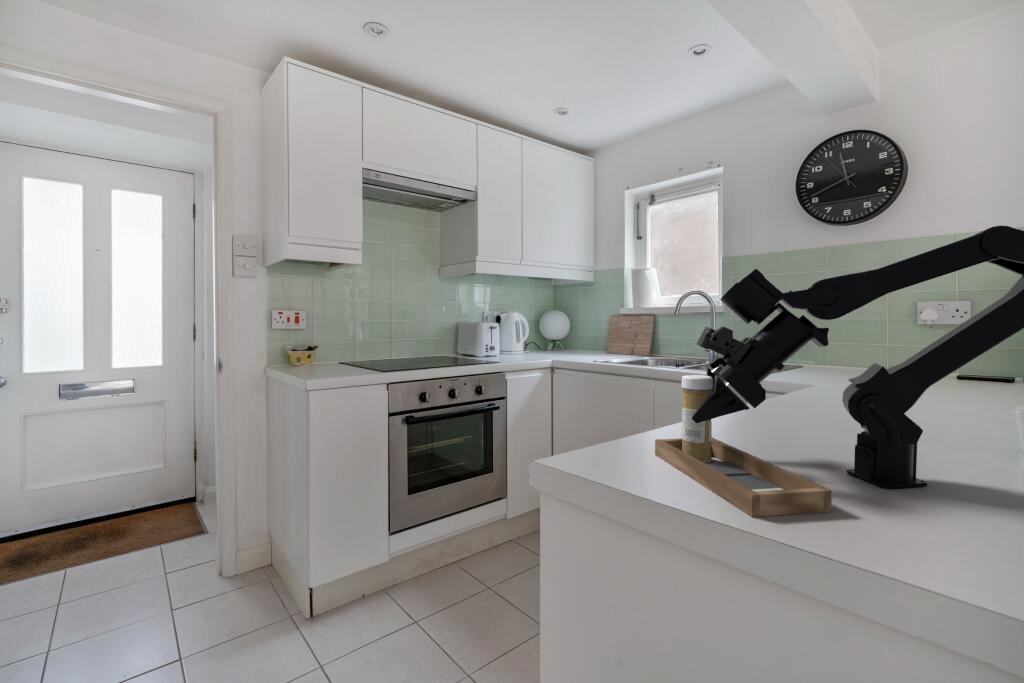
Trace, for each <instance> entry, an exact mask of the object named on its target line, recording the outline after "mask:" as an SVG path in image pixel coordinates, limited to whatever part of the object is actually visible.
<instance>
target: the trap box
mask: <svg viewBox="0 0 1024 683" xmlns="http://www.w3.org/2000/svg"><path fill="white" fill-rule="evenodd" d="M654 455H655V456H656V457H658V458H659V459H661V460H663V461H664V462H666V463H668V464H669V465H670V466H672V467H674V468H676V469H677V470H678V471H680V472H682V473H683V474H684V475H685V476H687V477H689V478H691V479H693V480H694V481H695V482H697V483H698V484H700V485H701V486H703V487H704V488H706V489H708V490H709V491H711V492H712V493H714V494H715V495H717V496H718V497H720V498H722V499H723V500H725V501H726V502H728V503H730V504H731V505H733V506H734V507H736V508H737V509H739V510H740V511H742V512H743V513H745V514H747V515H748V516H750V517H751V518H755V517H771V516H773V517H774V516H785V515H787V516H788V515H800V514H816V513H829V512H830V513H831V512H832V501H833V500H832V499H833V498H832V497H833V495H832V494H833V490H832V489H830V488H827V487H825V486H823V485H820V484H818V483H815V482H814V481H812V480H809V479H807V478H804V477H803V476H800V475H797V474H795V473H793V472H791V471H788V470H787V469H785V468H783V467H779V466H777V465H775V464H773V463H771V462H768V461H766V460H763V459H761V458H760V457H757V456H756V455H753V454H750V453H748V452H746V451H744V450H741V449H739V448H736V447H734V446H732V445H729V444H728V443H725V442H723V441H720V440H718V439H716V438H714V437H712V439H711V457H712V456H713V457H714V458H716V459H718V460H720V461H722V462H723V463H727V462H730V463H732V464H734V465H736V466H738V467H740V468H742V469H744V470H746V471H748V472H750V475H756V476H758V477H760V478H762V479H764V480H766V481H767V482H769V483H771V484H773V485H775V486H777V487H779V488H781V489H783V490H772V491H753V490H751V489H749V488H747V487H746V486H744V485H742V484H740V483H738V482H737V481H735V480H733V479H731V478H729V477H728V476H726V475H724V474H722V473H721V472H719V471H717V470H715V469H713V468H712V467H710V466H708V465H706V463H705V464H704V463H703V462H701V461H699V460H697V459H695V458H694V457H692V456H690V455H688V454H686V453H685V452H683V451H682V437H681V438H663V439H660V438H659V439H654Z"/></svg>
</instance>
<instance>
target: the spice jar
mask: <svg viewBox="0 0 1024 683" xmlns="http://www.w3.org/2000/svg"><path fill="white" fill-rule="evenodd" d="M681 388H682V389H681V390H682V406H681V438H682V451H683V452H685V453H686V454H688V455H690V456H692V457H694V458H695V459H697V460H699V461H701V462H703V463H704V464H706V463H712V460H713V457H712V455H711V439H712V438H713V437H712V435H713V434H712V430H713V429H712V427H713V426H712V419H710V420H707V421H703V422H700V423H695V422H694V421H693V420H692V416H693V415H694V414H695V412H696V411H697V410H698V409H699V407H700V406H701V405H702V404H703V403H704V402H705V400H706V399H707V398H708V397H709V396H710V394H711V392H712V389H713V378H712V377H710V376H707V375H702V374H687V375H682V377H681Z"/></svg>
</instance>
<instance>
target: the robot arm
mask: <svg viewBox="0 0 1024 683" xmlns="http://www.w3.org/2000/svg"><path fill="white" fill-rule="evenodd" d="M985 262H986V263H990V264H992V265H995V266H997V267H1000V268H1001V269H1002V268H1003V269H1005V270H1007V271H1009V272H1012V273H1014V274H1017V275H1021V276H1020V278H1019V279H1018V280H1017V281H1016V282H1015V283H1014V285H1013V286H1012V287H1011V288H1010V290H1009V291H1008V292H1006V294H1005V295H1004V296H1002V297H1000V298H999V299H998V300H996V301H995V302H992V303H991V304H990V305H989V306H987V307H985V308H984V309H982V310H981V311H979V312H978V313H976V314H975V315H973V316H972V317H969V318H968V319H967V320H965V321H964V322H962V323H961V324H959V325H958V326H956V327H955V328H953V329H952V330H950V331H948V332H947V333H946V334H944V335H942V336H941V337H940V338H938V339H936V340H935V341H933V342H932V343H930V344H929V345H926V347H923V348H922V349H921V350H920V351H918V352H917V353H915V354H913V355H912V356H911V357H908V358H907V359H906V360H904V361H902V363H899V364H896V365H894V366H891V367H887V368H886V367H885V366H883V365H881V364H879V363H876V362H875V363H873V364H871V365H870V366H869V367H868V368H867V369H866V370H865V371H864V372H863V373H861V374H859V375H858V376H856V377H853V378H849V379H848V381H849V382H850V383H851V384H849V385H848V386H847V387H845V389H844V390H843V392H842V403H843V407H844V409H845V410H846V411H847V413H848V414H849V415H850V416H851V417H852V419H853V420H854V421H856V422H857V423H858V424H859V426H860V427H861V429H863V431H861V432H860V433H856V444H855V445H854V466H853V468H850V469H849V468H848V469H846V474H848V475H851V476H854V477H856V478H859V479H861V480H864V481H867V482H869V483H872V484H874V485H877V486H879V487H882V488H887V489H893V488H894V489H896V488H897V489H899V488H914V487H927V486H928V481H926V480H924V479H919V478H917V466H918V465H917V463H918V462H917V461H918V460H917V459H918V442H919V440H920V438H921V436H922V434H923V433H924V430H923V428H921V426H919V425H918V424H917V423H916V422H914V421H913V420H912V419H911V418H910V417H908V416H907V415H906V413H907V412H908V411H909V410H910V409H911V408H913V406H914V405H915V404H916V403H917V402H918V400H919V399H920V398H921V397H922V396H923V394H924V393H925V392H926V391H927V390H928V389H929V388H930V387H931V386H933V385H935V384H936V383H938V382H939V381H941V380H943V379H945V378H946V377H947V376H949V375H951V374H952V373H954V372H956V371H957V370H959V369H961V368H962V367H963V366H965V365H967V364H968V363H970V362H972V361H973V360H975V359H977V358H978V357H980V356H981V355H984V354H985V353H987V352H988V351H989V350H991V349H993V348H994V347H996V346H997V345H1000V344H1001V343H1003V342H1004V341H1006V340H1007V339H1009V338H1011V337H1012V336H1014V335H1015V334H1017V333H1018V332H1021V330H1024V230H1023V229H1018V228H1015V227H1012V226H1008V225H995V226H991V227H989V228H988V227H987V228H986V229H983V230H982V231H979V232H977V233H975V234H974V235H972V236H968V237H966V238H965V237H964V238H962V239H960V240H957V241H954V242H952V243H949V244H946V245H941V246H939V247H937V248H933V249H931V250H928V251H925V252H922V253H919V254H917V255H913V256H911V257H908V258H905V259H903V260H899V261H896V262H894V263H891V264H889V265H885V266H881V267H879V268H876V269H871V270H866V271H865V270H864V271H861V272H860V271H858V272H855V273H848V274H844V275H843V274H842V275H838V276H834V277H828V278H824V279H821V280H818V281H816V282H814V283H813V284H811V286H809V287H808V288H807V289H800V290H796V291H792V290H789V291H788V292H787V291H786V292H782V291H781V290H780V289H778V288H777V287H776V286H775V285H774V284H773V283H771V281H769V280H768V279H767V278H766V277H765V275H764V274H763V273H762V272H761V271H760V270H759V269H757V268H755V269H753V270H752V271H751V272H750V273H749V274H747V275H746V276H744V277H743V279H741V280H740V281H739V282H735V283H734V285H732V286H731V287H730V288H729V289H728V290H727V292H725V294H723V295H722V297H721V298H720V301H721V302H722V303H723V304H724V305H725V306H726V307H728V309H730V310H731V311H732V312H733V313H734V314H735V315H736V316H737V317H738V318H740V319H741V320H742V321H743V322H744V323H745V324H746V325H749V324H751V323H752V322H754V323H756V325H758V326H759V325H761V324H762V323H763V322H764V321H766V320H767V318H769V317H770V316H771V315H772V314H773V313H774V312H776V311H777V312H778V314H777V315H776V316H775V317H773V318H772V319H771V320H770V321H769V322H768V323H767V324H765V325H764V326H763V327H762V328H761V329H760V330H758V331H757V332H756V333H755V334H754V335H753V336H752V337H750V336H749V337H748V336H747V337H745V338H742V339H741V340H738V339H736V338H734V331H733V330H732V329H730V328H728V327H726V326H724V325H723V326H722V325H721V326H720V327H719V328H717V329H714V328H710V327H708V326H705V327H704V329H703V331H702V332H701V334H700V337H699V338H698V340H697V342H696V345H697V346H699V347H700V348H703V349H705V350H711V351H713V352H715V353H718V354H719V355H721V356H715V357H714V358H713V359H711V360H710V361H709V362H708V363H707V365H708V366H709V367H711V368H709V367H708V366H706V369H705V370H706V376H710V377H712V378H713V389H712V392H711V394H710V396H709V397H708V398H707V399H706V400H705V402H704V403H703V404H702V405H701V406H700V407H699V409H698V410H697V411H696V412H695V414H694V415H693V416H692V420H693V421H694V422H695V423H700V422H703V421H707V420H710V419H711V420H712V419H716V418H719V417H724V416H726V415H730V414H733V413H738V412H742V411H748V410H750V407H749V406H748V405H747V403H748V404H749V405H750V406H751V407H752V408H753V409H756V408H757V407H758V406H760V405H761V404H762V403H763V402H765V400H766V397H767V396H766V388H764V387H763V385H762V382H763V381H764V380H765V379H766V378H768V377H769V376H770V375H771V374H773V373H774V372H775V371H778V372H780V371H781V370H782V369H784V368H785V365H784V363H786V362H787V361H788V360H789V359H790V358H791V357H793V356H794V355H795V354H796V353H797V352H799V351H800V350H801V349H803V348H804V347H805V345H807V344H808V343H809V342H810V341H811V342H813V343H814V344H815V345H816V346H817V347H819V348H824V347H827V346H828V345H830V344H829V331H830V328H829V327H818V326H817V325H816V324H815V323H814V322H812V321H811V320H810V319H809V318H807V316H806V315H804V314H802V315H800V316H799V317H798V316H796V315H795V314H793V313H792V312H791V311H790V310H788V309H787V308H786V307H785V306H784V305H782V303H780V302H783V303H784V304H785V305H786V306H787V307H788V308H791V309H797V310H804V311H805V312H806V314H808V315H809V316H810V317H812V318H815V319H817V320H822V321H830V320H836V319H840V318H841V317H844V316H845V315H847V314H850V313H852V312H854V311H856V310H858V309H860V308H862V307H864V306H866V305H868V304H869V303H872V302H873V301H875V300H877V299H879V298H881V297H884V296H885V295H887V294H890V293H893V292H897V291H899V290H902V289H906V288H908V287H912V286H914V285H918V284H920V283H924V282H927V281H930V280H933V279H937V278H939V277H943V276H945V275H946V276H947V275H948V274H952V273H955V272H957V271H961V270H965V269H966V268H967V269H968V268H971V267H973V266H974V267H975V266H976V265H979V264H982V263H985Z"/></svg>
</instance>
